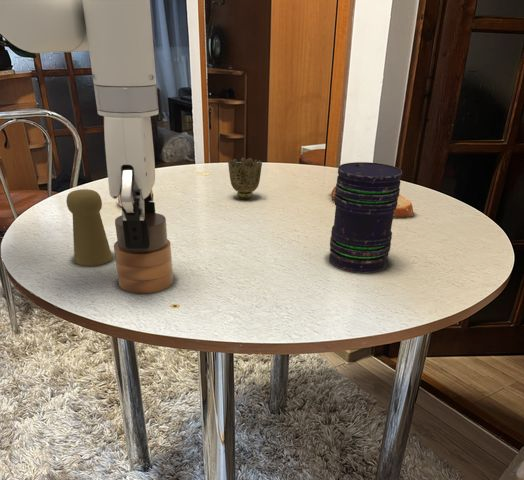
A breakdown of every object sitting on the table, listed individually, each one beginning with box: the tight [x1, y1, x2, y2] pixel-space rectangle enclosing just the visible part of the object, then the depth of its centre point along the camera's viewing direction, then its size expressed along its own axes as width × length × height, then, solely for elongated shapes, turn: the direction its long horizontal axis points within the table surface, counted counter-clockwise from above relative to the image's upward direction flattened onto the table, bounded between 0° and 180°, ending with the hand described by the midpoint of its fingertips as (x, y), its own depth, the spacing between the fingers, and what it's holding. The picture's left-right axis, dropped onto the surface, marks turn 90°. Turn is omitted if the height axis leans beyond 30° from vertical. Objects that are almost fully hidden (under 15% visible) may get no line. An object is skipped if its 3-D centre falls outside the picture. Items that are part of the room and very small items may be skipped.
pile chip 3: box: [116, 270, 174, 294], centre depth 76 cm, size 8×8×2 cm
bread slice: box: [331, 185, 415, 219], centre depth 113 cm, size 18×18×4 cm
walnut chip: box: [114, 212, 168, 253], centre depth 73 cm, size 7×7×4 cm
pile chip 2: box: [115, 257, 173, 281], centre depth 75 cm, size 8×8×2 cm
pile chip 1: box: [113, 238, 172, 268], centre depth 74 cm, size 8×8×2 cm
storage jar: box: [328, 161, 403, 274], centre depth 82 cm, size 10×10×15 cm
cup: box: [227, 157, 263, 201], centre depth 114 cm, size 8×7×8 cm
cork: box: [65, 188, 113, 267], centre depth 81 cm, size 6×6×11 cm
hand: (142, 237), depth 73 cm, fingers closed on walnut chip, 7 cm apart
